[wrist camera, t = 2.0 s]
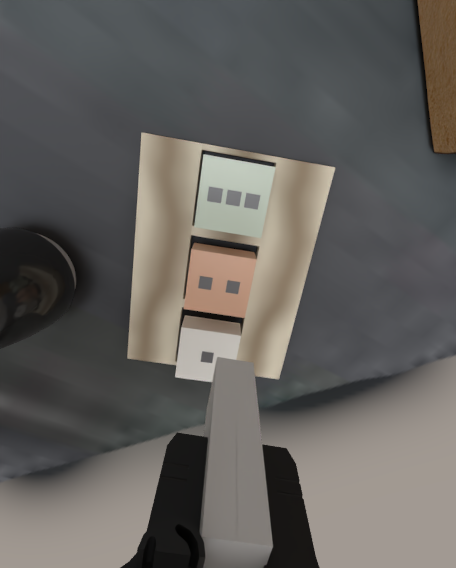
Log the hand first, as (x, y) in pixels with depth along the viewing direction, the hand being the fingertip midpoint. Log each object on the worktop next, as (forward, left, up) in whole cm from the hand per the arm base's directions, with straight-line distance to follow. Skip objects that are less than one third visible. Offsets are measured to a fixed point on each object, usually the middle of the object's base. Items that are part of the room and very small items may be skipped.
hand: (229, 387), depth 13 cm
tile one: (-1, -10, -19) cm, 22 cm away
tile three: (-1, +6, -19) cm, 20 cm away
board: (-1, -2, -22) cm, 22 cm away
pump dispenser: (-20, -5, -22) cm, 30 cm away
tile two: (-1, -2, -19) cm, 19 cm away
